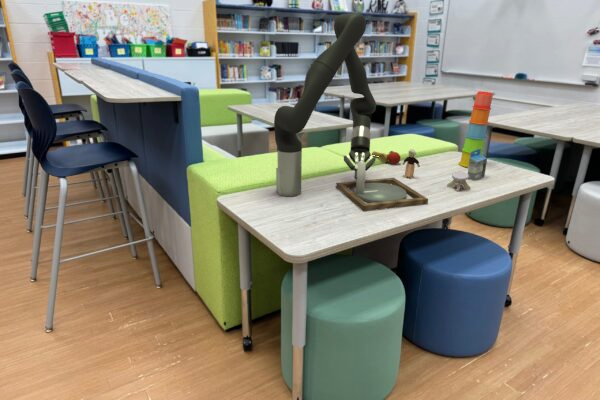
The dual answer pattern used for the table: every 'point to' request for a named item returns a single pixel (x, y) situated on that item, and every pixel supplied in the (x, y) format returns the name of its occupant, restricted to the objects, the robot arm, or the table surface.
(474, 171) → the label tape box
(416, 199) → the dial frame
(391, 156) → the kendama
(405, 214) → the table surface
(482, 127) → the stacking cups
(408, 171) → the grandmother figurine
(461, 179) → the tree stump
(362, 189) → the dial
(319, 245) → the table surface
